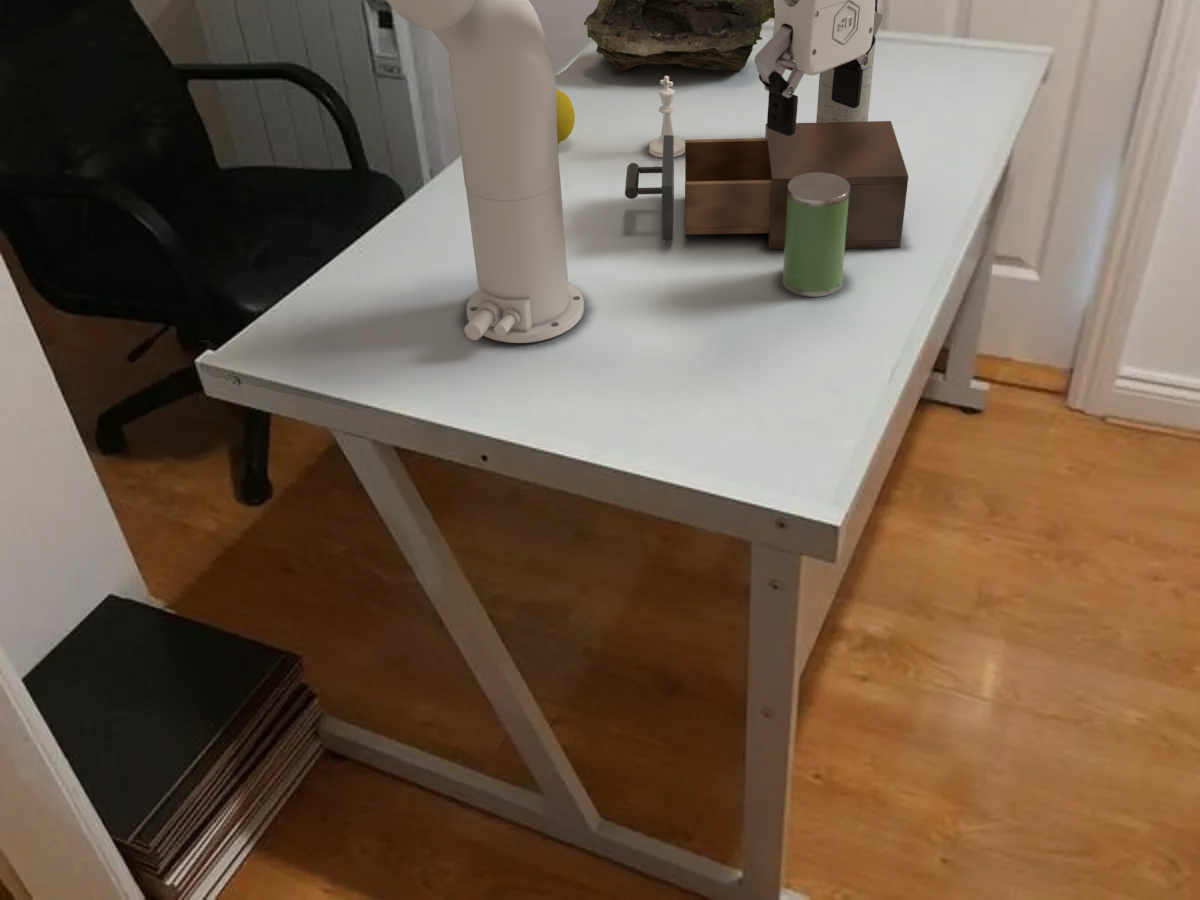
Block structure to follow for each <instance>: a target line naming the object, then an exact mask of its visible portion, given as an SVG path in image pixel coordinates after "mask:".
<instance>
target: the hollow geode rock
mask: <svg viewBox="0 0 1200 900" xmlns="http://www.w3.org/2000/svg"><path fill="white" fill-rule="evenodd" d="M775 11H776V7H775V0H598V2H597V6H596V8H595V9H594V10H593V11H592V12H591V13H590V14H589V15H587V16H586V17H585V19H584V22H583V25H584V26H586V31H587V32H586V33H587V34H586V35H587V38H591V40H592V41H593V42H595V44H596V45H597V47H596V50H595V52H596V53H597V54H599V55H602V56H603V58H604V59H605V60H606V61H608V62H609V63H611V64H613V65H615V66H616V69H617V70H618V71H619V72H623V71H626V70H628V69H631V68H633V67H635V66H642V65H644V64H656V65H659V64H661V65H666V64H670V65H671V64H673V65H674V64H680V65H681V66H682V67H684V68H689V69H707V70H712V71H714V70H720V71H722V72H724V71H725V72H726V71H727V72H728V71H730V72H741V70H743V69H744V68H745V66H746V65H747V62H748V60H749V59H750V56H751V55H752V52H753V49H754V46H756V45H757V44H758V41H762V40H763V37H762V36H761V33H762V32H761V31H762V29H763V26H762V25H764V24H765V23H767V22H768V21H769V20H770V19H775Z"/></svg>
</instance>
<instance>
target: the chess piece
mask: <svg viewBox="0 0 1200 900" xmlns="http://www.w3.org/2000/svg"><path fill="white" fill-rule="evenodd" d="M659 84H660V85H663V87H664V88H662V89H660V90H659V91H658V95H659V98H660V101H661V104H662V105H661V106H660V107H658V112H659V113H661V114H662V125H661V134H660V136H658V138H656V139H654V140H652V141H651V142H650V143H649V148H648V152H649V154H651V155H652V156H655V157H658V158H663V138H664V135H673V136H674V158H677V157H679V156H681V155H683V154H684V153H685V140H683V139H681V138H678V137H677V136H675V135H674V134H675V133H674V128H673V121H672V114H673V113H675V112H676V107H675V106H674V105H672V103H673V99H674V96H675V90H674V89H672V88H670V87H673V86H674V82H673V81H670V76H669V75H664V77H663V79H660V80H659Z"/></svg>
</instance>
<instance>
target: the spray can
mask: <svg viewBox="0 0 1200 900" xmlns="http://www.w3.org/2000/svg"><path fill="white" fill-rule="evenodd" d="M878 1H879V0H875V11H876V12H878ZM874 36H875V43H874V45H873V47H872V48H871V50H870V52H869V53H868V55H867V56H868V64H867V65H866V67H864V68H862V67H861V69H863V77H862V86H861V95H860V103H859V106H858V107H856V108H851V107H848V106H845V105H843V104H840V103H837V102H834V101H833V100H832V99H831V96H832V86H833V76H834V68H832V69H830V70H827V71H825V72H822V73H819V74H818V75H819V77H818V91H817V106H816V117H815V119H816V120H815V123H821V122H867V121H869V112H870V103H871V91H872V82H873V81H872V80H873V71H874V61H875V49H876V42H877V34H876V35H874Z"/></svg>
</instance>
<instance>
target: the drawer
mask: <svg viewBox="0 0 1200 900" xmlns="http://www.w3.org/2000/svg"><path fill="white" fill-rule="evenodd" d="M674 136H675V135H674ZM674 136H673V135H664V138H663V157H662V163H661V164H662V165H661V166H640V165H639V164H638V163H636V162H631V163H629V164H627V166H626V176H625V187H624V195H625V197H626V198H627V199H629V200H634V199H636V198H637V197H638V195H661V223H662V224H661V225H662V227H661V229H662V231H661V232H662V241H663V242H668V241H669V242H670V241H671V242H672V241H674V213H675V212H674V211H675V210H674V209H675V157H674ZM684 142H685V152H684V153H685V154H684V156H685V157H684V162H685V163H684V168H685V169H684V171H685V172H684V176H685V178H684V222H685V223H684V235H733V234H734V235H736V234H737V235H739V234H742V235H745V234H768V233H769V229H770V206H771V183H772V182H771V173H770V165H769V157H768V148H767V140H766V138H765V137H750V138H749V137H746V138H743V137H742V138H702V139H698V138H695V139H685V140H684ZM640 174H661V186H660V187H657V186H656V187H655V186H654V187H639V183H640Z"/></svg>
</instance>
